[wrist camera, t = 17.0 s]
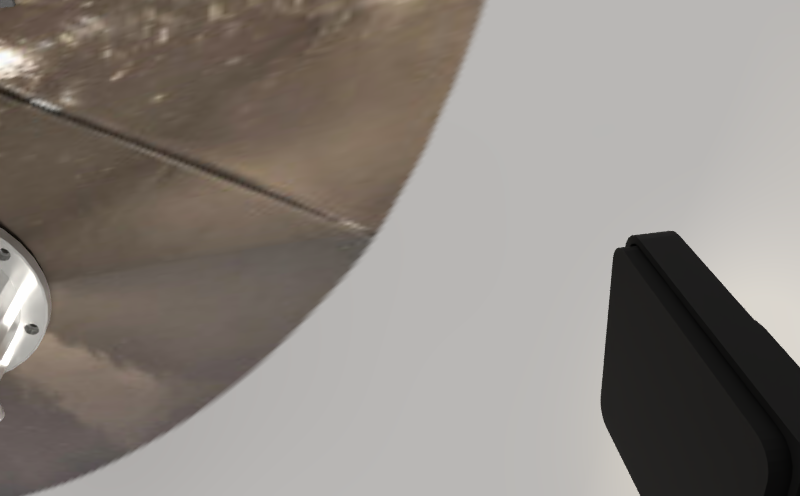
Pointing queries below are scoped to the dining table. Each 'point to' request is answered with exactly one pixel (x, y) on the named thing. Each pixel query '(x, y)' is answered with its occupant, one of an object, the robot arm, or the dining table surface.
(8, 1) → the mat
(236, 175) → the dining table surface
